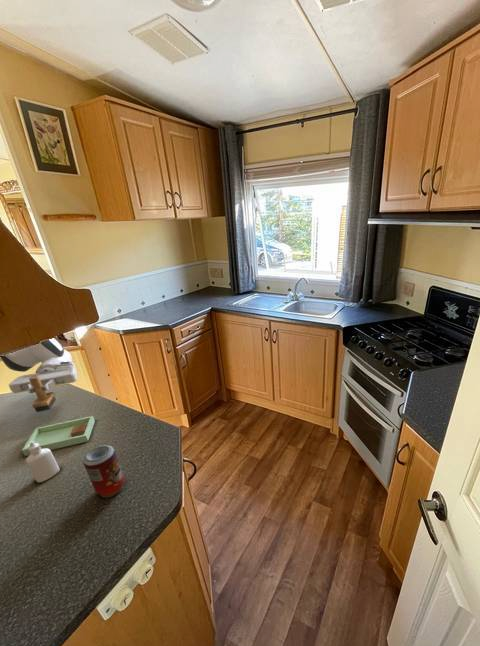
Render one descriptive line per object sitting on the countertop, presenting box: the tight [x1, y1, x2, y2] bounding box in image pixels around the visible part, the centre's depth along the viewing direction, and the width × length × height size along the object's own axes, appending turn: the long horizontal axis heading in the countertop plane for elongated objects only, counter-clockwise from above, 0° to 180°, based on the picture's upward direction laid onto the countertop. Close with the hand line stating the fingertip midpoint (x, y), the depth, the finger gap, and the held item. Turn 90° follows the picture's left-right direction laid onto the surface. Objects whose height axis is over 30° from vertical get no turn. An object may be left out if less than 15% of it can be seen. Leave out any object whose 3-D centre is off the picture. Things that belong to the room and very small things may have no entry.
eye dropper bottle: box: [25, 441, 61, 483], centre depth 79 cm, size 4×6×12 cm
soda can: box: [82, 444, 125, 498], centre depth 74 cm, size 7×7×12 cm
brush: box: [29, 375, 57, 413], centre depth 101 cm, size 4×7×12 cm, turn 19°
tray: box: [21, 415, 96, 457], centre depth 97 cm, size 18×12×2 cm, turn 109°
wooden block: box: [71, 424, 87, 437], centre depth 98 cm, size 4×4×2 cm
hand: (37, 390), depth 99 cm, fingers closed on brush, 2 cm apart
